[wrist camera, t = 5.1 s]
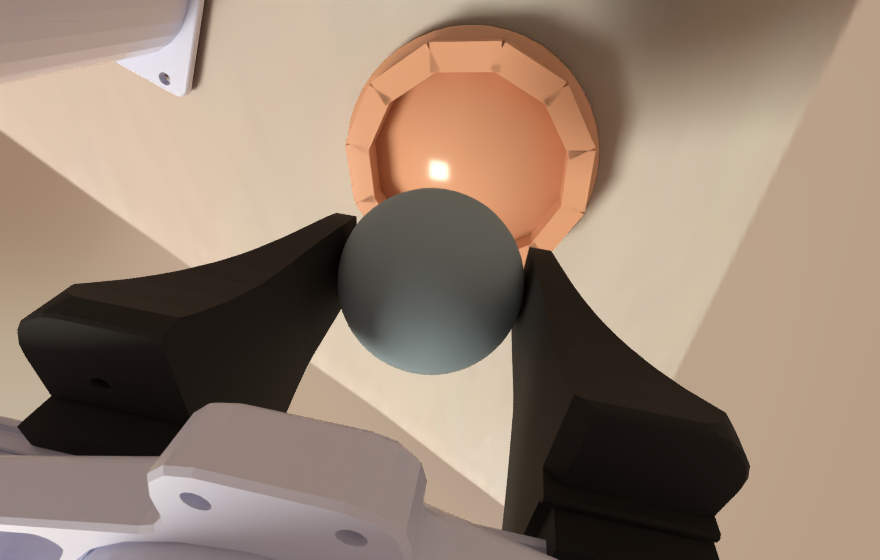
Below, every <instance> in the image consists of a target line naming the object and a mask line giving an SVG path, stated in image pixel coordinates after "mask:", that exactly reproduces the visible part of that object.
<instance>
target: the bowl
mask: <svg viewBox="0 0 880 560" xmlns="http://www.w3.org/2000/svg"><path fill="white" fill-rule="evenodd" d="M346 143H347V144H346V145H345V146H346V152H347V159H348V165H349V172H350V178H351V184H352V191H353V197H354V202H357V203H356V206H357V207H358V209H359V210H360V211H361V213H362V214H363V215H364V216H365V215H366V214H367V213H368V212H369V211H370V210H371V209H372V208H374V207H375V206H377V205H378V204H380V203H381V202H383V201H384V200H386V199H388V198H390V197H392V196H394V195H396V194H399V193H403V192H406V191H410V190H415V189H421V188H441V189H448V190H452V191H457V192H460V193H462V194H465V195H468V196H470V197H472V198H474V199H476V200H478V201H479V202H481V203H483V204H484V205H486V206H487V207H488V208H489V209H491V210H492V211H493V212H494V213H495V214H496V215H497V216H498V217H499V218H500V219H501V220H502V221H503V223H504V224H505V225H506V226H507V228H508V229H509V231H510V232H511V234H512V236H513V238H514V240H515V242H516V244H517V246H518V249H519V252H520V255H521V258H522V263H523V268H524V265H525V261H526V258H527V254H528V250H529V247H533V248H539V249H544V250H550V251H551V252H552V251H553V250H554V248H555V247H556V246H557V245H558V244H559V243H560V241H561V240H562V239H563V238H564V237H565V236H566V234H567V233H568V232H569V231H570V230H571V229H572V228H573V226H574V225H575V224H576V223H577V222H578V221H579V219H580V218H581V217H582V216H583V215H584V214H583V212H585V209H586V206H587V204H588V201H589V199H590V196H591V194H592V192H593V189H594V185H595V181H596V177H597V172H598V163H599V139H598V133H597V128H596V122H595V119H594V116H593V113H592V110H591V107H590V104H589V102H588V100H587V98H586V96H585V94H584V92H583V90H582V88H581V86H580V84H579V83H578V82H577V80H576V79H575V77H574V76H573V74H572V73H571V72H570V70H569V69H568V68H567V67H566V66H565V65H564V64H563V63H562V62H561V61H560V60H559V59H558V58H557V57H556V56H555V55H554V54H552V53H551V52H550V51H549V50H547V49H546V48H545V47H543V46H542V45H540V44H539V43H537V42H535V41H533V40H532V39H530V38H528V37H526V36H524V35H521V34H518V33H516V32H513V31H511V30H508V29H503V28H498V27H494V26H489V25H460V26H451V27H447V28H443V29H439V30H435V31H432V32H430V33H427V34H425V35H423V36H420V37H418V38H416V39H414V40H412V41H411V42H409V43H407V44H406V45H404V46H402V47H401V48H399V49H398V50H396V51H395V52H394V53H393V54H392V55H390V56H389V57H388V58H387V59H386V60H384V61H383V63H382V64H381V65H380V66H379V67H378V68H377V69H376V70H375V72H374V73H373V74H372V75H371V77H370V78H369V80H368V81H367V83H366V84H365V86H364V87H363V89H362V91H361V93H360V96H359V98H358V100H357V102H356V104H355V107H354V111H353V114H352V117H351V121H350V127H349V133H348V138H347V140H346Z"/></svg>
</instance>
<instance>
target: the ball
mask: <svg viewBox="0 0 880 560" xmlns="http://www.w3.org/2000/svg"><path fill="white" fill-rule="evenodd" d="M338 294H339V300H340V305H341V308H342V312H343V314H344V317H345V319H346V321H347V323H348V326H349V327H350V329H351V331H352V332H353V334H354V335H355V336H356V338H357V339H358V340H359V341H360V343H361V344H362V345H363V346H364V347H365V348H366V349H367V350H368V351H369V352H370V353H371V354H373V355H374V356H375V357H377V358H378V359H380V360H381V361H383V362H385V363H386V364H388V365H390V366H393V367H395V368H397V369H400V370H403V371H407V372H411V373H416V374H423V375H440V374H447V373H451V372H455V371H459V370H462V369H465V368H467V367H470V366H472V365H474V364H475V363H477V362H479V361H481V360H482V359H484V358H485V357H487V356H488V355H489V354H490V353H492V352H493V351H494V350H495V349H496V348H497V347H498V346H499V345H500V344H501V343H502V342H503V340H504V339H505V338H506V336H507V335H508V333H509V332H510V330H511V329H512V327H513V325H514V323H515V321H516V319H517V316H518V314H519V311H520V308H521V305H522V300H523V294H524V269H523V263H522V258H521V255H520V252H519V249H518V246H517V244H516V242H515V240H514V238H513V236H512V234H511V232H510V231H509V229H508V228H507V226H506V225H505V224H504V223H503V221H502V220H501V219H500V218H499V217H498V216H497V215H496V214H495V213H494V212H493V211H492V210H491V209H489V208H488V207H487V206H486V205H484V204H483V203H481V202H479V201H478V200H476V199H474V198H472V197H470V196H468V195H465V194H462V193H460V192H457V191H452V190H448V189H441V188H421V189H415V190H410V191H406V192H403V193H399V194H396V195H394V196H392V197H390V198H388V199H386V200H384V201H383V202H381V203H380V204H378V205H377V206H375V207H374V208H372V209H371V210H370V211H369V212H368V213H367V214H366V215H365V216H364V217H363V218H362V219H361V220H360V221H359V223H358V224H357V225H356V226H355V228H354V229H353V231H352V232H351V234H350V236H349V238H348V240H347V242H346V243H345V246H344V249H343V251H342V255H341V258H340V262H339V268H338Z"/></svg>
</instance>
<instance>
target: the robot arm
mask: <svg viewBox="0 0 880 560" xmlns="http://www.w3.org/2000/svg"><path fill="white" fill-rule="evenodd" d="M203 7H204V0H0V85H1V84H6V83H11V82H16V81H21V80H26V79H31V78H35V77H40V76H45V75H50V74H55V73H60V72H65V71H70V70H74V69H79V68H84V67H89V66H94V65H99V64H104V63H109V62H113V61H115V62H116V63H118V64H120V65H122V66H124V67H125V68H127V69H129V70H131V71H133V72H134V73H136V74H138V75H140V76H141V77H143V78H145V79H147V80H149V81H150V82H152V83H154V84H156V85H158V86H159V87H161V88H163V89H165V90H167V91H168V92H170V93H172V94H174V95H176V96H179V97H181V96H185V95H188V94H189V93H190V91H191V88H192V81H193V75H194V68H195V61H196V54H197V47H198V41H199V34H200V27H201V20H202V14H203ZM165 73H166V74H167V75H168V76H169V78H170V82H168V81H167V79H166V77H165ZM356 225H357V220H356V216H351V215H345V214H339V213H335V214H332V215H330V216H327V217H325V218H323V219H321V220H319V221H317V222H315V223H313V224H311V225H308V226H306V227H304V228H302V229H300V230H298V231H296V232H294V233H292V234H290V235H287V236H285V237H283V238H281V239H278V240H276V241H273V242H271V243H269V244H266V245H264V246H262V247H259V248H257V249H254V250H251V251H249V252H246V253H243V254H240V255H237V256H234V257H231V258H227V259H224V260H221V261H217V262H214V263H209V264H205V265H201V266H197V267H193V268H189V269H185V270H180V271H175V272H170V273H164V274H159V275H152V276H146V277H139V278H132V279H124V280H113V281H103V282H93V283H81V284H73V285H72V286H70V287H69V288H67V289H66V290H64V291H63V292H61V293H60V294H58V295H57V296H56V297H54V298H53V299H51V300H50V301H48V302H47V303H46V304H44V305H43V306H41V307H40V308H38V309H37V310H36V311H34V312H32V313H31V314H29V315H28V316H27V317H25V318H24V319H22V320H21V322H20V324H19V327H18V339H19V345H20V347H21V349H22V351H23V353H24V354H25V356H26V358H27V359H28V361H29V363H30V364H31V366H32V367H33V369H34V370H35V371H36V373H37V375H38V376H39V377H40V379H41V381H42V382H43V384H44V385H45V387H46V388H47V390H48V391H49V393H50V394H51V395H52V396H51V397H50V398H49V399H48V400H47V401H45V402H44V403H43V404H42V405H41V406H40V407H38V408H37V409H36V410H35V411H34V412H33V413H32V414H30V415H29V416H28V417H27V418H26V419H25V420H24V421H21V420H16V419H12V418H7V417H3V416H0V560H719V557H718V554H717V551H716V548H715V545H714V542H718V541H719V540H720V536H721V533H720V531H719V528H718V525H717V522H716V519H715V515H716V514H717V513H718V512H719V511H720V510H721V509H722V508H723V507H724V506H725V505H726V503H728V502H729V501H730V500H731V499H732V498H733V497H734V496H735V495H736V494H737V492H739V490H740V489H741V488H742V486H743V485H744V483H745V482H746V480H747V479H748V476H749V468H750V465H749V462H748V460H747V457H746V455H745V452H744V450H743V447H742V445H741V443H740V440H739V438H738V436H737V433H736V431H735V429H734V427H733V425H732V423H731V421H730V420H729V418H728V416H727V414H726V413H725V412H724V411H722V410H720V409H718V408H717V407H715V406H713V405H712V404H710V403H708V402H707V401H705V400H703V399H701V398H700V397H698V396H697V395H695V394H693V393H691V392H690V391H688V390H686V389H685V388H683V387H682V386H680V385H679V384H677V383H676V382H675V381H673V380H672V379H670V378H669V377H667V376H666V375H664V374H663V373H661V372H660V371H659V370H657V369H656V368H655V367H653V366H652V365H651V364H649V363H648V362H647V361H645V360H644V359H643V358H642V357H641V356H639V355H638V354H637V353H636V352H635V351H633V350H632V349H631V348H630V347H629V346H627V345H626V344H625V343H624V342H623V341H622V340H621V339H620V338H618V337H617V336H616V335H615V334H614V333H613V332H612V331H611V330H610V329H609V328H608V327H607V326H606V325H605V324H604V323H603V322H602V320H601V319H600V318H599V317H598V316H597V315H596V314H595V313H594V311H593V310H592V309H591V308H590V307H589V305H588V304H587V303H586V302H585V301H584V299H583V298H582V297H581V295H580V294H579V293H578V291H577V290H576V289H575V287H574V286H573V284H572V283H571V281H570V280H569V278H568V277H567V275H566V274H565V272H564V271H563V269H562V267H561V266H560V264H559V263H558V261H557V259H556V258H555V256H554V255H553V253H552V252H551V251H550V250H544V249H539V248H533V247H529V250H528V254H527V258H526V261H525V265H524V294H523V300H522V305H521V308H520V311H519V314H518V316H517V319H516V321H515V323H514V325H513V327H512V364H513V419H512V432H511V444H510V455H509V466H508V477H507V487H506V497H505V507H504V516H503V517H504V518H503V526H502V530H499V529H495V528H490V527H486V526H482V525H478V524H473V523H470V522H469V521H466V520H464V519H461V518H459V517H457V516H454V515H452V514H450V513H447V512H445V511H443V510H440V509H438V508H435V507H433V506H431V505H429V504H426V503H424V495H425V488H426V482H427V480H426V477H425V473H424V470H423V467H422V463H421V462H420V460H419V459H418V458H417V457H416V456H415V455H413V454H412V453H411V452H410V451H409V450H408V449H406V448H405V447H404V446H403V445H402V444H401V443H399V442H398V441H395V440H393V439H390V438H388V437H385V436H382V435H380V434H377V433H374V432H372V431H368V430H363V429H358V428H354V427H349V426H344V425H339V424H335V423H330V422H326V421H321V420H316V419H311V418H307V417H302V416H298V415H293V414H288V413H286V412H287V410H288V408H289V405H290V403H291V400H292V398H293V396H294V394H295V392H296V389H297V387H298V385H299V383H300V381H301V378H302V376H303V374H304V372H305V369H306V367H307V366H308V364H309V362H310V360H311V358H312V356H313V355H314V353H315V351H316V350H317V348H318V346H319V345H320V343H321V341H322V340H323V338H324V336H325V335H326V333H327V331H328V330H329V328H330V327H331V325H332V323H333V322H334V320H335V318H336V317H337V315H338V313H339V312H340V310H341V305H340V300H339V294H338V268H339V262H340V258H341V255H342V251H343V249H344V246H345V243H346V242H347V240H348V238H349V236H350V234H351V232H352V231H353V229H354V228H355V226H356Z"/></svg>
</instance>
